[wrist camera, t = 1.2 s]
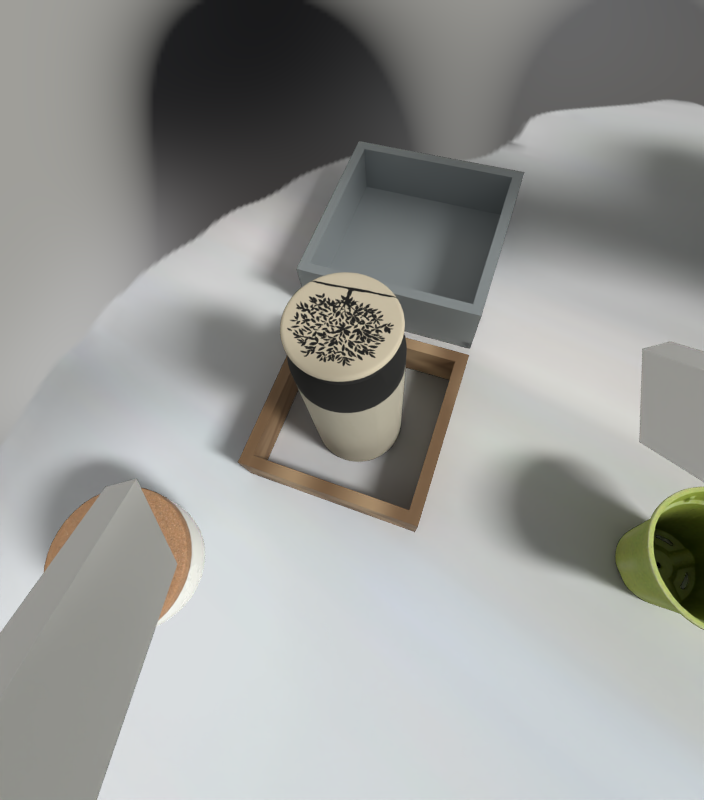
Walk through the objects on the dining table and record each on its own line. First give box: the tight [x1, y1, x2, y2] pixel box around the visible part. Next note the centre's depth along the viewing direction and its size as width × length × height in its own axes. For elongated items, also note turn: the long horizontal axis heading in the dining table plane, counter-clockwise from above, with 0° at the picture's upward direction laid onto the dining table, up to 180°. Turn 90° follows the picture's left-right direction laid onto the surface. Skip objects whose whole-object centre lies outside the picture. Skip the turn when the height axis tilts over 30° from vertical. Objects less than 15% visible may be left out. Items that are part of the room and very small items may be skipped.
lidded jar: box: [44, 488, 205, 627], centre depth 35 cm, size 11×11×9 cm
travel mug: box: [280, 272, 407, 462], centre depth 35 cm, size 8×8×18 cm
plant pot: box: [615, 487, 704, 630], centre depth 32 cm, size 9×9×9 cm
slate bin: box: [297, 141, 524, 349], centre depth 47 cm, size 18×18×6 cm
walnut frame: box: [238, 338, 469, 532], centre depth 41 cm, size 16×16×4 cm
